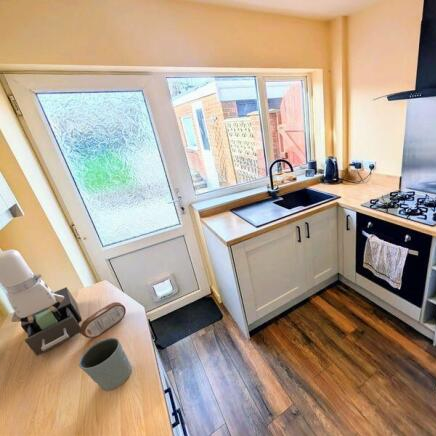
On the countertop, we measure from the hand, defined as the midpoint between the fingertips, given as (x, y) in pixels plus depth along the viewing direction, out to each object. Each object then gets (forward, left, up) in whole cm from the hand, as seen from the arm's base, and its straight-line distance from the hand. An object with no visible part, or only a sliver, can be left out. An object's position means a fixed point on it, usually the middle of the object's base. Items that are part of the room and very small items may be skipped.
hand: (49, 322), depth 91 cm
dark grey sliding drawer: (0, -1, -7) cm, 7 cm away
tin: (+17, -4, -8) cm, 19 cm away
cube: (0, 0, 0) cm, 0 cm away
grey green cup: (+23, -30, -8) cm, 39 cm away
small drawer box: (-4, +12, -8) cm, 15 cm away
